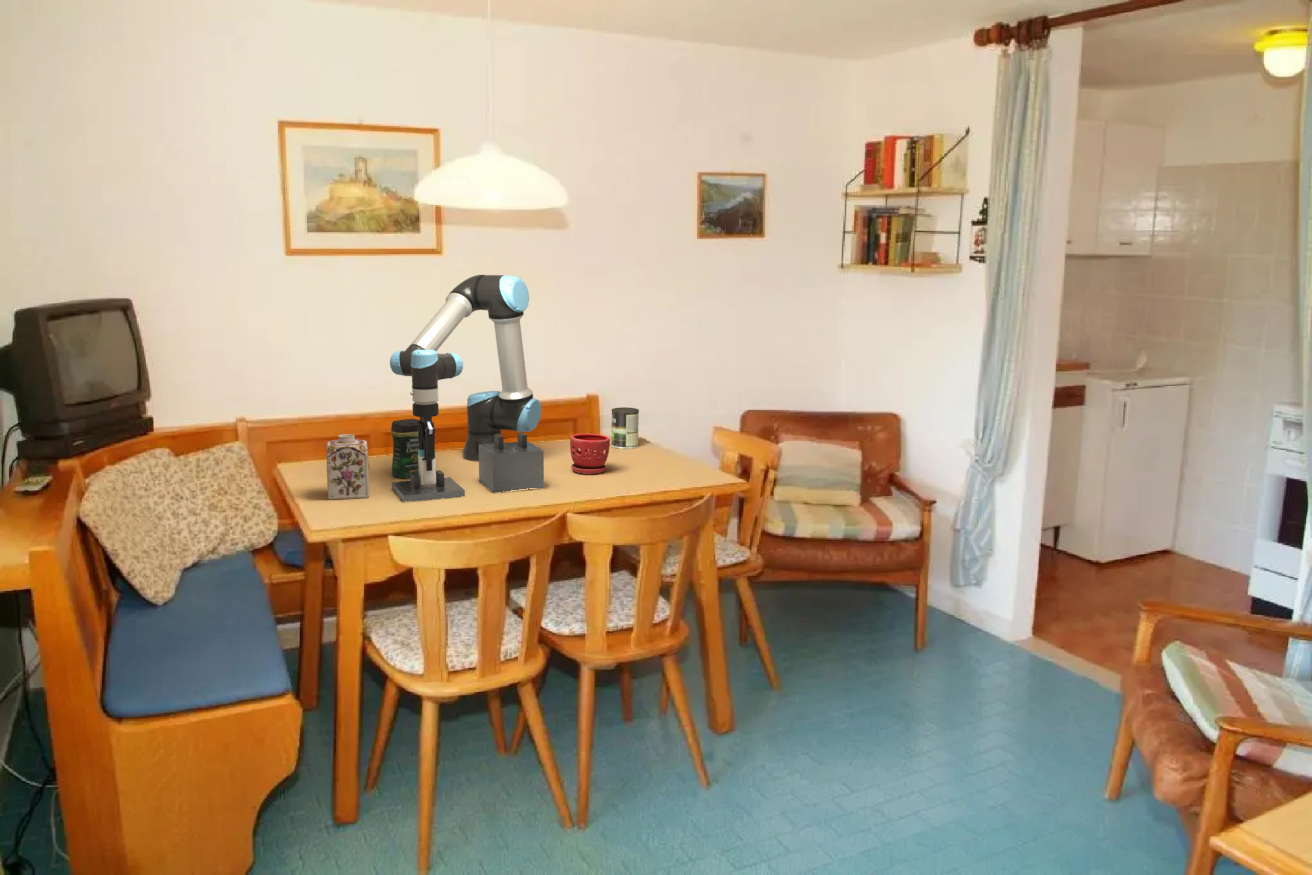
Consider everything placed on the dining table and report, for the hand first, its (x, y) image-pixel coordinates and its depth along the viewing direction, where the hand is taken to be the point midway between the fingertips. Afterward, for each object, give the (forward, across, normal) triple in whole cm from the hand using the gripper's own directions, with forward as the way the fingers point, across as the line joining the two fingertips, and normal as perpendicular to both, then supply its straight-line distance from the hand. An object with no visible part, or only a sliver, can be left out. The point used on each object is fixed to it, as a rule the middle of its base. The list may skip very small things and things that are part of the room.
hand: (427, 479), depth 298 cm
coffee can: (+4, -44, +84) cm, 95 cm away
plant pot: (+4, -9, +56) cm, 57 cm away
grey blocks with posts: (+4, 0, +13) cm, 14 cm away
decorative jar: (+4, -6, -22) cm, 23 cm away
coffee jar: (+4, -24, -1) cm, 24 cm away
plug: (+1, 0, 0) cm, 1 cm away
